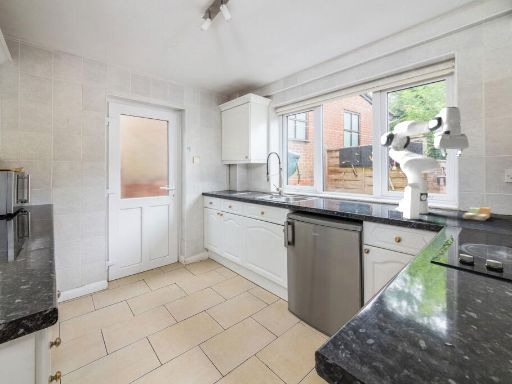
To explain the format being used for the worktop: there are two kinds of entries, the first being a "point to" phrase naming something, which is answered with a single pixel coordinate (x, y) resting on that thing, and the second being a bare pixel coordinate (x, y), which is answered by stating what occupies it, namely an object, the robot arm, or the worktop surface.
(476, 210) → the sage block
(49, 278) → the worktop surface
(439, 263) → the worktop surface
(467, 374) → the worktop surface
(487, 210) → the orange block
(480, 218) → the base board
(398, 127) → the robot arm
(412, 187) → the milk
